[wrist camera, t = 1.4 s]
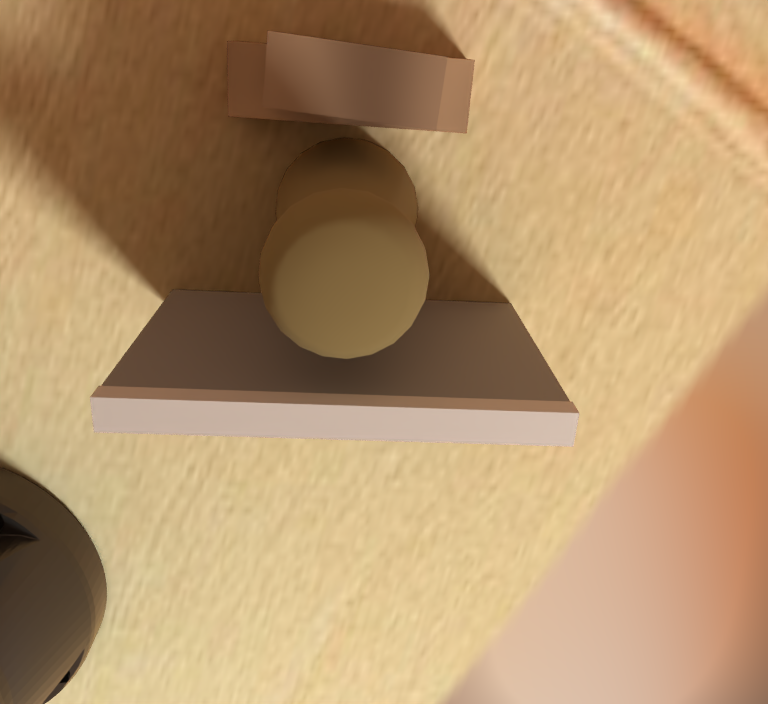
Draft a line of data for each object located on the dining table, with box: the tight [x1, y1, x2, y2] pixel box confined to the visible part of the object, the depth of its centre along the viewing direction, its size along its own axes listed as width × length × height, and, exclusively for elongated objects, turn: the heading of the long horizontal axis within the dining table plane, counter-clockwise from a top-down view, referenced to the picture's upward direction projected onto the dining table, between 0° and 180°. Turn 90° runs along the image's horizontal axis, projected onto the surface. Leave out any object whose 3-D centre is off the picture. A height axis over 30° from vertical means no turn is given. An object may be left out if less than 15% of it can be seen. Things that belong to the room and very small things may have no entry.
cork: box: [258, 138, 430, 359], centre depth 26 cm, size 6×6×11 cm
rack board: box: [90, 289, 579, 447], centre depth 28 cm, size 15×1×11 cm, turn 87°
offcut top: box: [263, 31, 448, 131], centre depth 26 cm, size 6×2×2 cm, turn 82°
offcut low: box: [227, 41, 475, 133], centre depth 28 cm, size 9×3×2 cm, turn 86°
